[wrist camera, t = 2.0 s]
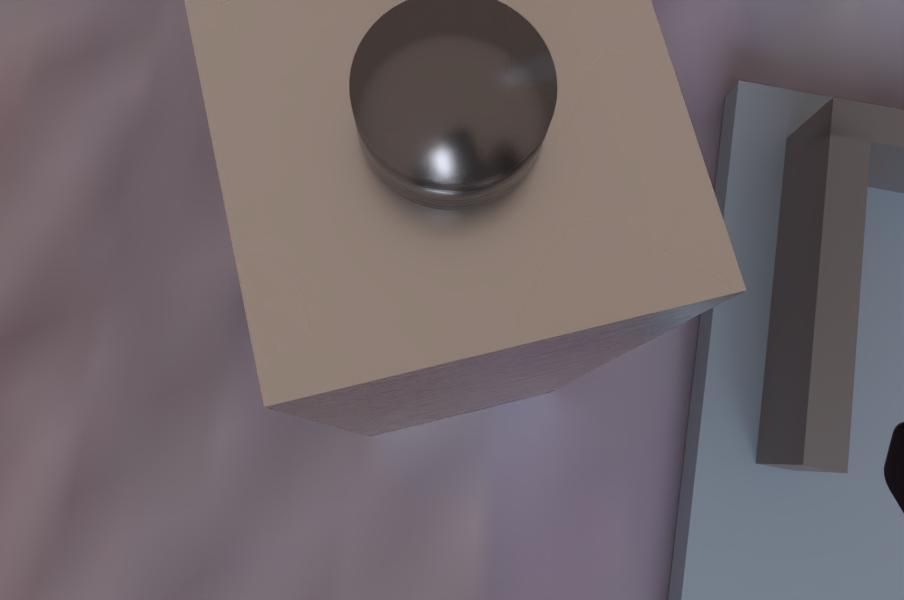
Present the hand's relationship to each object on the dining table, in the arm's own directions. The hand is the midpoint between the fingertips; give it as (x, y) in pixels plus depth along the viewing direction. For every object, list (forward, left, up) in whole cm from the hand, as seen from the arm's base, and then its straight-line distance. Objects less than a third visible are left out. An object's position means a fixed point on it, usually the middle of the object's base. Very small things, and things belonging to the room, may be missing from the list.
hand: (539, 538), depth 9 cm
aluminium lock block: (+4, +3, -11) cm, 12 cm away
